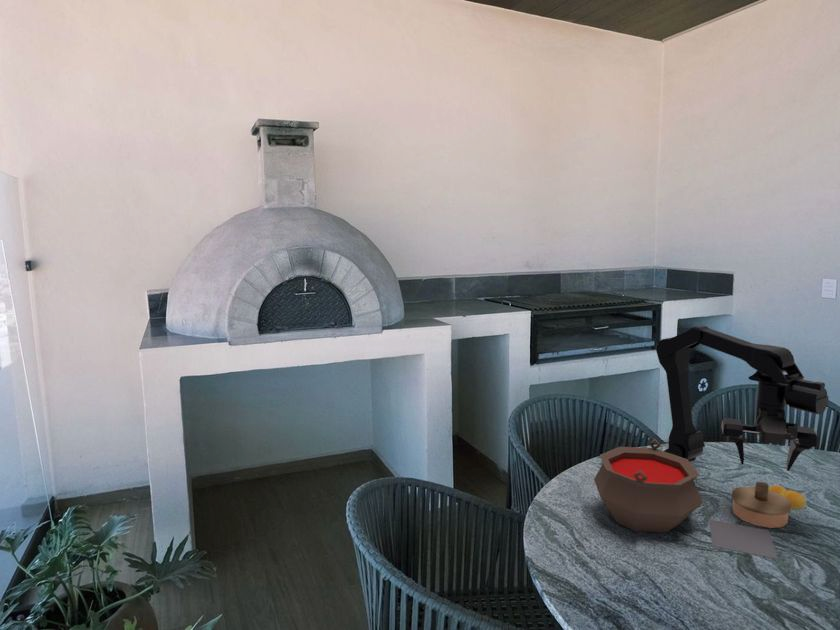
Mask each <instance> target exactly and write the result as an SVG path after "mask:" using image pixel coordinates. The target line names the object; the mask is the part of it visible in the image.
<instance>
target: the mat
mask: <svg viewBox="0 0 840 630" xmlns="http://www.w3.org/2000/svg"><path fill="white" fill-rule="evenodd" d="M708 521H709V528H710V530H709V531H710V537H711V544H712V547H714V548H719V549H724V550H729V551H733V552H738V553H739V552H740V553H744V554H750V555H754V556H758V557H759V556H761V557H764V558H765V557H766V558H770V559H773V560H774V559H777V560H778V555H777V552H776V549H775V546H774V543H773V540H772V537H771V533H770V530H769V529H763V528H758V527H753V526H748V525H747V526H746V525H741V524H736V523H731V522H725V521H719V520H714V519H709V520H708Z"/></svg>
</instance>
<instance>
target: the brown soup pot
mask: <svg viewBox="0 0 840 630" xmlns="http://www.w3.org/2000/svg"><path fill="white" fill-rule="evenodd" d="M654 443H655V444H656V445H654ZM647 444H648V445H649V446H650V447H635V446H617V447H616V448H613V449H610V450H609V451H606V452H604V453H601V454H599V456H600V460H601V462H602V465H601V466H600V468H599V470H598V471H597V473H596V475H595V477H594V478H593V480H594V483H595V484H594V485H595V486H596V489H597V491H598V494H599V497H600V498H601V501H602V502H603V503H604V505H605V506H606V507H607V509H608V511H609V512H610V514H611V515H612V517H613V518H614V520H615V522H616V523H617V524H619V525H621V526H623V527H625V528H628V529H629V530H631V531H634V532H636V533H639V532H652V533H653V532H654V533H668V532H669V531H671V530H672V529H674V528H676V527H678V526H679V525H681V523H682V522H684V521H685V520H686V518H688V517H689V516H690V515H691V514H692V513H694V511H696V510H697V509H699V507H700V506H701V505H702V504H703V500H702V498H701V495H700V493H699V490H698V488H697V485H696V483H695V481H694V480H696V479H697V478H698V477H699V476H700V473H699V472H698V471H697V469H696V467H694V465H693V464H692V463H691V462H689V460H688V459H685V458H682V457H679V456H676V455H673V454H670V453H667V452H664V451H665V450H661V449H659V448H660V447H662V445H661V443H660V442H659V441H658V440H657V439H656V438H654V439H652V440H651V441H649V442H648V443H647Z"/></svg>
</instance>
